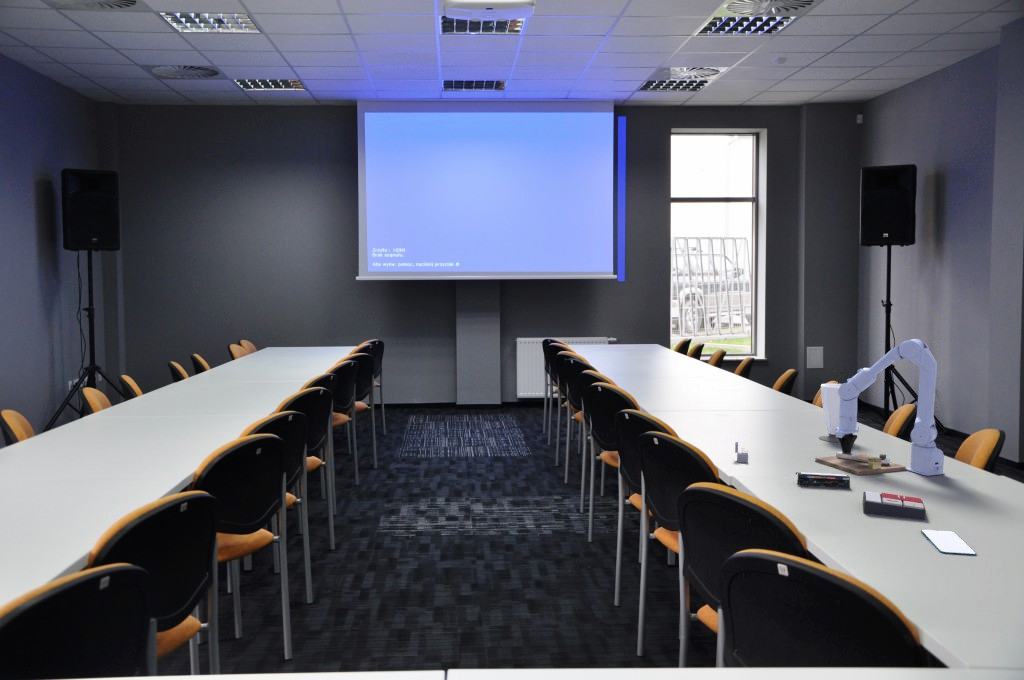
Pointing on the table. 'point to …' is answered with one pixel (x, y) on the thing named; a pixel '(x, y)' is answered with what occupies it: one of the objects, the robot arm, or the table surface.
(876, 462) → the wooden block
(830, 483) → the black flat case
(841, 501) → the table surface
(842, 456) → the grey link
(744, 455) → the architectural model
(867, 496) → the dark grey box
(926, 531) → the smartphone
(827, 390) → the cup
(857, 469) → the base plate
